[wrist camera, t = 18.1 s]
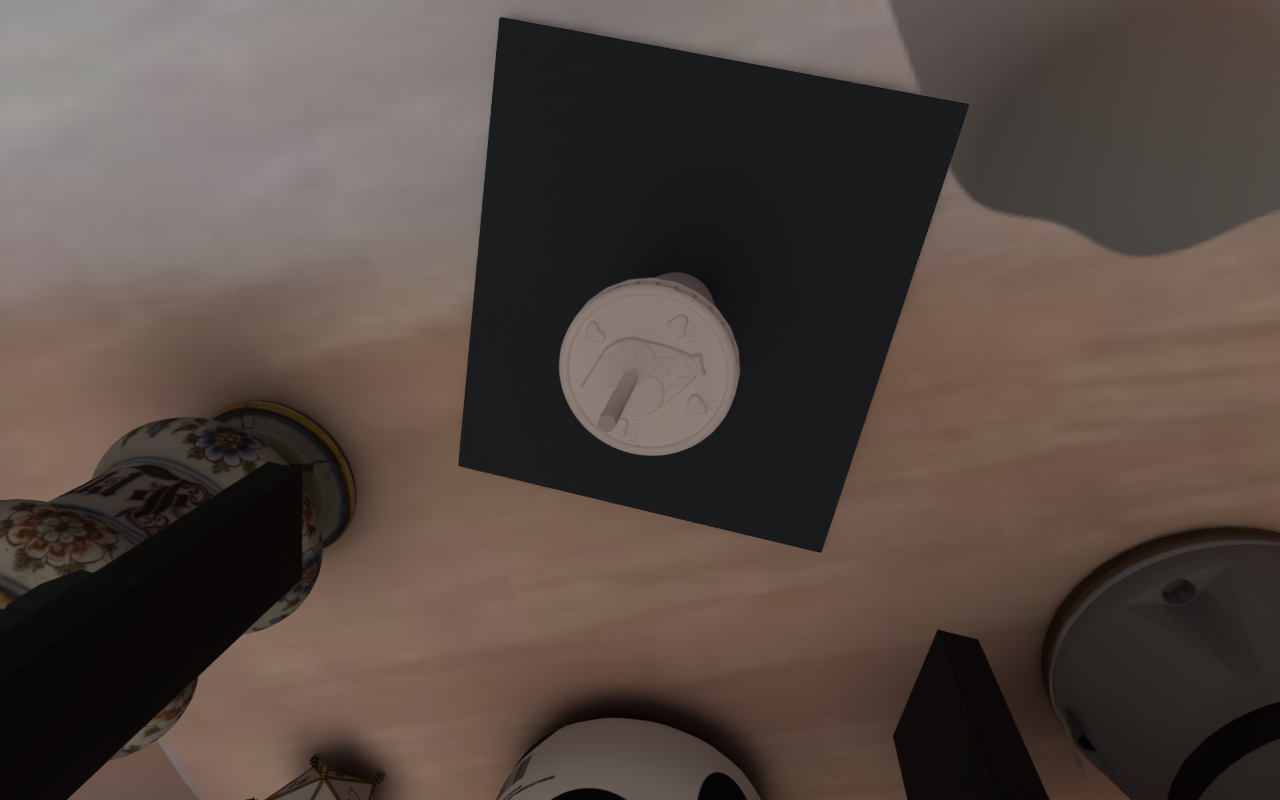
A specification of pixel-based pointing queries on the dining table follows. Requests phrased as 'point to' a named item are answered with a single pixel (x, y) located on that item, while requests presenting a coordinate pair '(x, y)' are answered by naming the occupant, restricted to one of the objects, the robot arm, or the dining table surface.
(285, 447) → the apothecary jar
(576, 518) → the dining table surface
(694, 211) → the mat
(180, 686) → the robot arm
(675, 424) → the smoothie
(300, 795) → the game die
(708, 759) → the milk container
